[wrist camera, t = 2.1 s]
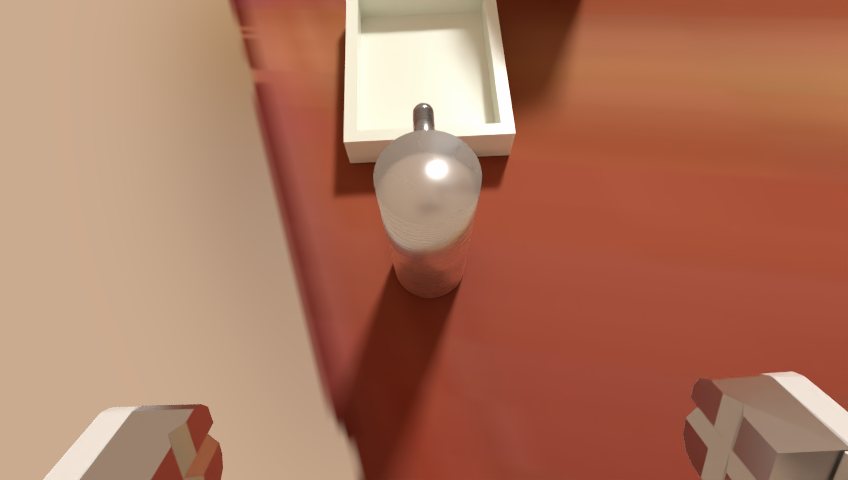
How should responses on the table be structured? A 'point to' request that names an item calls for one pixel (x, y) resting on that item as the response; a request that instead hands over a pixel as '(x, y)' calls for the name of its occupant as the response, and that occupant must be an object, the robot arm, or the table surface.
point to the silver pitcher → (428, 204)
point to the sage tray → (425, 74)
